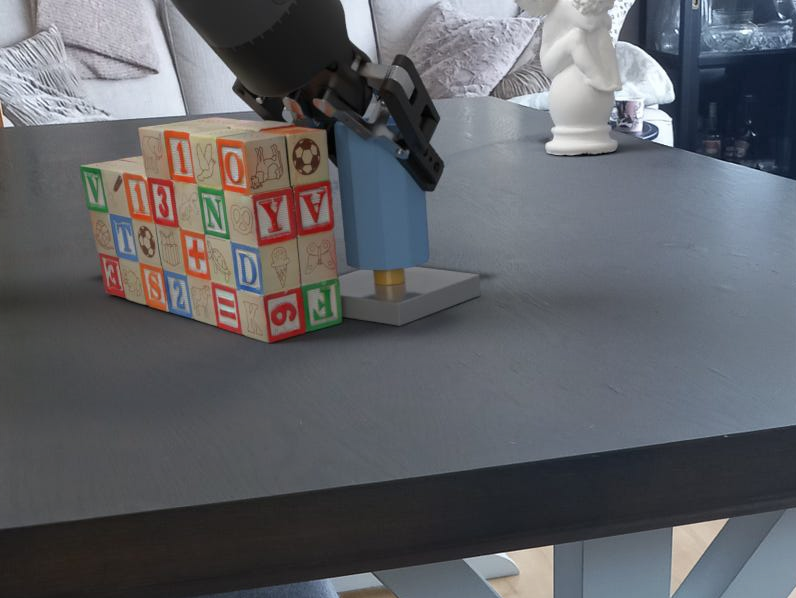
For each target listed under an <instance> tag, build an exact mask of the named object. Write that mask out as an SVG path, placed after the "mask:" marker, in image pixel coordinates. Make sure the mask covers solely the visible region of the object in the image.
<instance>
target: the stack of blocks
mask: <svg viewBox="0 0 796 598" xmlns="http://www.w3.org/2000/svg"><path fill="white" fill-rule="evenodd" d="M287 122H288V121H287ZM287 122H277V121H264V120H260V121H259V120H249V119H237V118H227V117H217V116H215V117H206V118H198V119H194V120H193V119H191V120H185V121H179V122H172V123H171V122H170V123H165V124H164V123H163V124H157V125H149V126H141V127H138V137H139V142H140V148H141V149H140V150H141V155H138V156H132V157H125V158H124V157H123V158H119V159H116V160H115V159H114V160H107V161H102V162H96V163H89V164H83V165H82V164H81V165H79V172H80V177H81V182H82V187H83V193H84V199H85V203H86V207H87V209H88V211H89V215H90V222H91V227H92V231H93V236H94V242H95V247H96V252H98V258H99V264H100V271H101V276H102V280H103V286H104V289H105V290H104V291H105V293H106V294H110V295H112V296H117V297H120V298H124V299H126V300H128V301H131V302H134V303H137V304H140V305H145V306H148V307H150V308H153V309H157V310H160V311H164V312H167V313H172V314H174V315H178V316H181V317H185V318H188V319H192V320H195V321H199V322H202V323H204V324H208V325H211V326H215V327H218V328H220V329H223V330H226V331H229V332H232V333H235V334H238V335H243V336H244V337H247V338H250V339H254V340H256V341H259V342H263V343H268V344H270V343H275V342H279V341H282V340H285V339H286V340H287V339H289V338H293V337H296V336H300V335H303V334H306V333H309V332H313V331H317V330H321V329H325V328H328V327H331V326H337V325H339V324H342V323H343V317H342V309H341V294H340V282H339V278H338V277H339V276H338V260H337V259H338V258H337V247H336V246H337V245H336V237H335V235H336V234H335V212H334V203H333V201H334V200H333V199H334V198H333V195H332V194H333V190H332V189H333V188H332V182H331V176H330V162H329V161H330V160H329V158H328V148H327V135H326V130H323V129H314V128H306V127H296V126H295V124H294V123H292V122H288V123H287Z"/></svg>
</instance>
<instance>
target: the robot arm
mask: <svg viewBox="0 0 796 598" xmlns="http://www.w3.org/2000/svg"><path fill="white" fill-rule="evenodd" d="M169 1H170V2H171V4H172V5H173V7H174V8H175V9H176V10H177V11H178V12H179V14H180V15H181V16H182V17H183V18H184V19H185V20H186V22H187V23H188V24H189V25H190V26H191V27H192V28H193V30H194V31H195V32H196V34H198V36H200V37H201V39H202V40H203V41H204V43H206V44H207V46H208V47H209V48H210V49H211V50H212V51H213V52H214V54H216V55H217V57H218V58H219V59H220V60H221V61H222V62H223V64H224V65H225V66H226V67H227V68H228V69H229V71H231V73H232V74H233V75H234V76H235V77H236V79H235V81H234V82H233V85H232V86H231V90H232V92H233V93H234V94H235V95H236V96H237V97H238V98H239V99H241V100H242V101H243V102H244V104H246V105H247V106H248V107H249V108H250V109H251V110H252V111H254V112H255V113H256V114H257V115H258V117H260V119H262V121H277V122H287V123H289V122H288V121H287V120H286V119H285V118H284V116H283V112H284V111H285V110H286V111H287V112H289V113H290V115H291V118H292V121H291V123H294V124H295V126H296V127H306V128H314V129H323V130H326V135H327V148H328V160H329V161H330V162H331V163H332V164H333V165H334V167H336V169H337V170H338V166H337V155H336V144H335V134H334V124H335V123H336V122H337V121H338V122H342V123H343V124H344V125H345V126H347V127H348V128H349V129H350V130H352V131H353V132H354V133H356V134H357V135H358V136H359V137H361V138H362V139H363V140H364V141H367V142H370V141H372V140H376V141H377V142H379V143H380V144H381V145H382V146H384V147H385V148H386V149H387V150H389V151H390V152H391V153H392V154H394V155H395V156H396V157H397V158H396V159H397V160H398V161H399V163H400V164H401V165H402V167H404V169H406V171H407V172H408V173H409V174H410V176H411V177H412V178H413V179H414V181H415V182H416V183H417V185H418V186H419V187H420V188H421V190H422V191H426V192H428V193H429V192H430V193H432V192H434V191H435V190H436V188H437V186H438V184H439V181H440V179H441V177H442V175H443V172H444V169H445V167H446V166H445V163H444V160H443V159H442V158H441V156H440V155H439V153H438V152H437V151H436V149H435V148H434V147H433V145H432V144H431V141H432V138H433V136H434V134H435V132H436V129H437V127H438V125H439V123H440V121H441V116H440V114H439V112H438V110H437V108H436V106H435V104H434V102H433V100H432V97H431V96H430V94H429V92H428V89H427V87H426V86H425V84H424V82H423V79H422V78H421V76H420V73H419V72H418V70H417V68H416V66H415V63H414V62H413V60H412V59H411V58H410V57H408V56H407V55H405V54H401V53H398V54H396V55H395V56H394V58H393V59H392V62H391V65H388V64H381V63H375V62H373V61H372V59H371V58H370V56H369V55H368V54H367V53H366V52H365V51H363V50H362V49H360V47H358V46H357V45H356V44H355V43H354V42H353V41H352V40H350V37H349V33H348V27H347V21H346V12H345V8H344V5H343V4H342V1H341V0H169ZM373 96H374V97H375V100H376V103H375V106H374V108H373V110H372V112H371V113H370V116H369V117H370V118H369V120H368V122H367V121H366V120H365V119H364V118H362V117H365V114H366V113H367V112H368V110H369V109H368V108H369V106H370V104H371V102H372V100H373ZM390 116H391V117H392V118H393V120H394V122H395V123H396V125H397V127H398V129H399V132H398V134H397V136H395V135H394V134H393V133H392V132H390V131H389V130H388V129H387V126H386V124H387V122H388V119H389V117H390Z"/></svg>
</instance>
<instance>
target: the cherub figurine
mask: <svg viewBox="0 0 796 598" xmlns="http://www.w3.org/2000/svg"><path fill="white" fill-rule="evenodd" d="M615 2H616V0H513V3H514V4H516V6H517V7H518V8H520V10H523V11H524V12H526V14H527V15H528V17H529V16H530V17H531V16H532V17H533V18H537V17H541V16H542V17H543V16H544V17H545V18H544V21H543V26H542V33H541V45H540V50H539V62H540V66H541V70H542V73H543V74H544V76H545V77H546V78H548V79H549V80H552V81H551V84H550V87H549V91H548V94H547V95H548V96H547V107H548V112H549V114H550V118H551V120H552V122H553V124H554V125H555V126H553V127H551V129H550V132H551V134H552V135H553V139H552V140H550V141H548V142H546V143H545V151H546V154H550V155H554V156H555V155H556V156H563V155H567V156H574V155H582V154H584V155H585V154H587V155H590V154H591V155H597V154H602V153H605V154H606V153H612V152H614V151H617V148H618V146H619V143H618V141H617V140H616V139H613V138H611V136H610V132H611V131H612V129H613V128H612V126H611V124H608V123H609V122H610V119H611V117H612V115H613V111H614V108H615V103H616V101H615V100H616V99H615V98H616V97H615V92H621V91H623V84H622V82H621V75H620V72H619V70H620V68H619V62H618V56H617V53H616V49H615V47H614V44H613V40H612V36H611V33H610V31H611V30H612V29H613V18H612V16H611V15H610V13H609V11H610V10H613V9H614V6H615Z"/></svg>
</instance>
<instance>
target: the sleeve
mask: <svg viewBox="0 0 796 598" xmlns="http://www.w3.org/2000/svg"><path fill="white" fill-rule="evenodd" d="M362 118H364V119H365V120H366V121H367V122H368V120H369V118H370V116H363V117H362ZM386 126H387V129H388V130H389V131H390V132H392V133H393V134H394V135H395V136H397V134H398V132H399V129H398V127H397V125H396V123H395V122H394V120H393V118H392V117H391V116H390V117H389V119H388V122H387V124H386ZM334 134H335V144H336V155H337V166H338V169H337V174H338V176H337V177H338V186H339V198H340V207H341V217H342V229H343V239H344V247H345V248H344V251H345V260H346V266H347V267H351V268H354V269H357V270H384V271H385V270H394V269H403V268H410V267H418V266H420V265H423V264H426V263H428V262H429V259H430V244H429V226H428V210H427V209H428V207H427V195H426V194H427V193H426V192H427V191H422V190H421V188H420V187H419V186H418V185H417V183H416V182H415V181H414V179H413V178H412V177H411V176H410V174H409V173H408V172H407V171H406V169H404V167H402V165H401V164H400V163H399V161H398V160H397V159H396V158H397V157H396V156H395V155H394V154H392V153H391V152H390V151H389V150H387V149H386V148H385V147H384V146H382V145H381V144H380V143H379V142H377V141H376V140H372V141H370V142H367V141H364V140H363V139H362V138H361V137H359V136H358V135H357V134H356V133H354V132H353V131H352V130H350V129H349V128H348V127H347V126H345V125H344V124H343V123H342V122H338V121H337V122H336V123H335V124H334Z"/></svg>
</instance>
